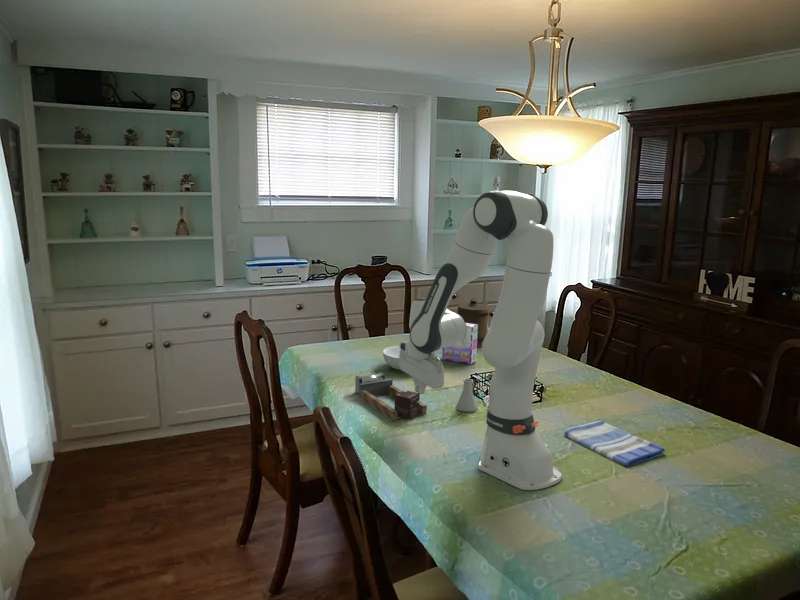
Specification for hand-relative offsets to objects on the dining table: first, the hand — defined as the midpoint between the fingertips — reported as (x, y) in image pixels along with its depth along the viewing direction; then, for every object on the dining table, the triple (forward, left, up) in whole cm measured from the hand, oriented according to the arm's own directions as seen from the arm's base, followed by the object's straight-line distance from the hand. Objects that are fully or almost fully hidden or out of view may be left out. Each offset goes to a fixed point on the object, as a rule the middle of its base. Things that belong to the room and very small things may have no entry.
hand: (419, 392), depth 178 cm
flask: (+3, -21, -10) cm, 24 cm away
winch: (+32, 0, -10) cm, 34 cm away
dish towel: (-39, -42, -11) cm, 58 cm away
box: (+7, 0, -10) cm, 13 cm away
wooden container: (+69, -74, -10) cm, 102 cm away
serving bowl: (+50, -27, -10) cm, 58 cm away
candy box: (+49, -52, -10) cm, 72 cm away
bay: (+16, 0, -10) cm, 19 cm away
